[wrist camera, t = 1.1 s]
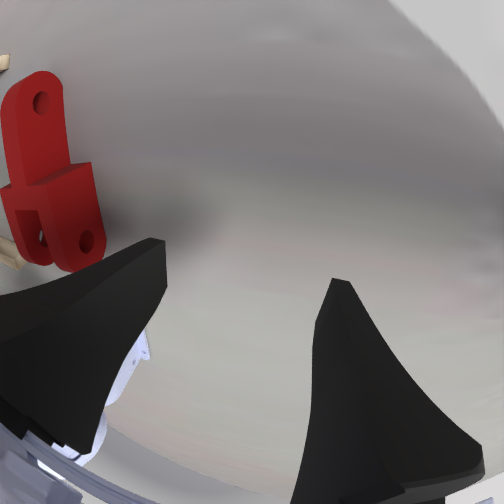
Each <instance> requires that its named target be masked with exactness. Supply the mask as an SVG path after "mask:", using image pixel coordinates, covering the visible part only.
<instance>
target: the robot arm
mask: <svg viewBox="0 0 504 504" xmlns="http://www.w3.org/2000/svg"><path fill="white" fill-rule="evenodd" d="M166 288H167V271H166V250H165V241H164V240H159V239H155V238H147V239H145V240H142V241H140V242H138V243H136V244H133V245H131V246H129V247H127V248H125V249H123V250H121V251H119V252H117V253H115V254H113V255H111V256H109V257H107V258H105V259H103V260H101V261H98V262H96V263H94V264H92V265H90V266H87V267H85V268H83V269H81V270H79V271H77V272H74V273H72V274H70V275H67V276H65V277H62V278H59V279H57V280H54V281H51V282H49V283H46V284H42V285H39V286H36V287H32V288H29V289H26V290H22V291H19V292H14V293H10V294H5V295H0V504H83V503H81V499H82V497H83V496H82V494H81V493H80V492H79V491H77V490H76V489H74V488H73V487H72V486H70V485H69V484H67V483H66V482H64V481H63V480H68V481H70V482H71V483H73V484H74V485H76V486H78V487H79V488H81V489H83V490H84V491H86V492H88V493H90V494H91V495H93V496H95V497H97V498H99V499H101V500H103V501H104V502H106V503H108V504H159V503H156V502H154V501H151V500H148V499H146V498H144V497H141V496H139V495H137V494H134V493H132V492H129V491H127V490H125V489H123V488H121V487H119V486H117V485H115V484H113V483H111V482H109V481H106V480H105V479H103V478H101V477H99V476H97V475H95V474H94V473H92V472H90V471H88V470H86V469H85V468H83V467H82V466H83V465H84V464H85V463H86V462H88V461H89V460H90V459H92V458H93V457H94V455H95V454H96V453H97V451H98V450H99V448H100V446H101V445H102V443H103V441H104V438H105V435H106V432H107V421H106V415H105V413H104V412H103V409H104V407H105V406H108V405H110V404H112V403H113V402H115V401H116V400H117V399H118V398H119V397H120V395H121V393H122V391H123V390H124V388H125V386H126V384H127V382H128V381H129V379H130V377H131V375H132V373H133V372H134V370H135V368H136V366H137V364H138V363H139V361H140V359H141V358H142V359H145V360H149V359H150V353H149V349H148V344H147V339H146V335H145V330H144V328H145V326H146V325H147V323H148V322H149V320H150V319H151V317H152V316H153V314H154V312H155V311H156V309H157V307H158V305H159V303H160V301H161V299H162V297H163V295H164V293H165V291H166ZM484 475H485V467H484V459H483V452H482V446H481V445H480V444H479V443H478V442H477V441H475V440H474V439H473V438H472V437H471V436H469V435H468V434H467V433H466V432H464V431H463V430H462V429H461V428H459V427H458V426H457V425H456V424H455V423H454V422H453V421H452V420H451V419H450V418H448V417H447V416H446V415H445V414H444V413H443V412H442V411H441V410H440V409H439V408H438V407H437V406H436V405H435V404H434V403H433V402H432V401H431V399H430V398H429V397H428V396H427V395H426V394H425V393H424V392H423V390H422V389H421V388H420V387H419V386H418V385H417V384H416V382H415V381H414V380H413V379H412V378H411V376H410V375H409V374H408V372H407V371H406V370H405V368H404V367H403V366H402V365H401V363H400V362H399V361H398V359H397V358H396V356H395V355H394V354H393V352H392V351H391V349H390V348H389V346H388V345H387V343H386V342H385V340H384V339H383V337H382V336H381V334H380V332H379V331H378V329H377V328H376V326H375V324H374V323H373V321H372V319H371V318H370V316H369V314H368V312H367V311H366V309H365V307H364V306H363V304H362V302H361V300H360V299H359V297H358V295H357V293H356V292H355V290H354V288H353V286H352V285H351V283H350V282H349V281H345V280H340V279H335V278H332V280H331V283H330V285H329V288H328V291H327V293H326V296H325V299H324V301H323V304H322V306H321V309H320V311H319V314H318V316H317V319H316V322H315V330H314V338H313V346H312V396H311V412H310V419H309V425H308V431H307V437H306V442H305V447H304V452H303V457H302V462H301V466H300V470H299V474H298V478H297V482H296V485H295V489H294V492H293V496H292V499H291V502H290V504H445V496H448V495H450V494H452V493H455V492H457V491H459V490H462V489H464V488H466V487H468V486H470V485H472V484H474V483H476V482H477V481H479V480H481V479H482V478H483V476H484ZM476 504H493V498H492V497H491V498H488V499H486V500H483V501H481V502H479V503H476Z"/></svg>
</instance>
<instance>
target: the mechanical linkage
mask: <svg viewBox="0 0 504 504" xmlns="http://www.w3.org/2000/svg"><path fill="white" fill-rule="evenodd" d="M0 117H1V128H2V136H3V144H4V150H5V157H6V162H7V168H8V173H9V178H10V182H11V183H10V184H8V185H6V186H5V187H3V188H1V189H0V194H1V198H2V202H3V206H4V209H5V213H6V216H7V220H8V223H9V226H10V229H11V232H12V235H13V238H14V241H15V244H16V246H17V249H18V252H19V253H20V255H21V257H22V258H23V259H24V260H26V261H27V262H30V263H34V264H38V265H42V266H46V265H50V264H52V263H53V262H55V264H56V265H57V266H58V267H59V268H60V269H61V270H63V271H67V272H71V273H74V272H77V271H79V270H81V269H83V268H85V267H87V266H90V265H92V264H94V263H96V262H98V261H101V260H102V258H103V256H104V253H105V248H106V235H105V231H104V226H103V222H102V218H101V213H100V209H99V204H98V199H97V194H96V189H95V184H94V178H93V172H92V166H91V162H88V163H78V164H71V163H70V157H69V150H68V143H67V135H66V126H65V116H64V103H63V86H62V84H61V82H60V80H59V79H58V78H57V77H56V76H55V75H54V74H52V73H50V72H48V71H38V72H35V73H33V74H31V75H29V76H28V77H26V78H24V79H22V80H21V81H19V82H17V83H16V84H14V85H13V86H12V87H11V88H10V89H9V90H8V92H7V93H6V95H5V97H4V99H3V101H2V105H1V111H0ZM41 230H42V232H43V237H42V240H41V242H40V240H39V234H40V231H41Z"/></svg>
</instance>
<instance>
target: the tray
mask: <svg viewBox="0 0 504 504" xmlns="http://www.w3.org/2000/svg"><path fill="white" fill-rule="evenodd" d="M9 56H10V54H9V55H2V56H0V72H2V71H4V70H6V69H8V66H9ZM0 262H2V263H4V264H6V265H8V266H10V267H12V268H13V269H15V270H17V271H18V270H19V269H20V268H22V267H23V266H24V265H25V264H26V263H27V261H26V260H24V259H23V258H22V257H21V255H20V253H19V252H18V249H17V246H16V244H15V243H14V242H12V241H10V240H7V239H5V238H2V237H0Z"/></svg>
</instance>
